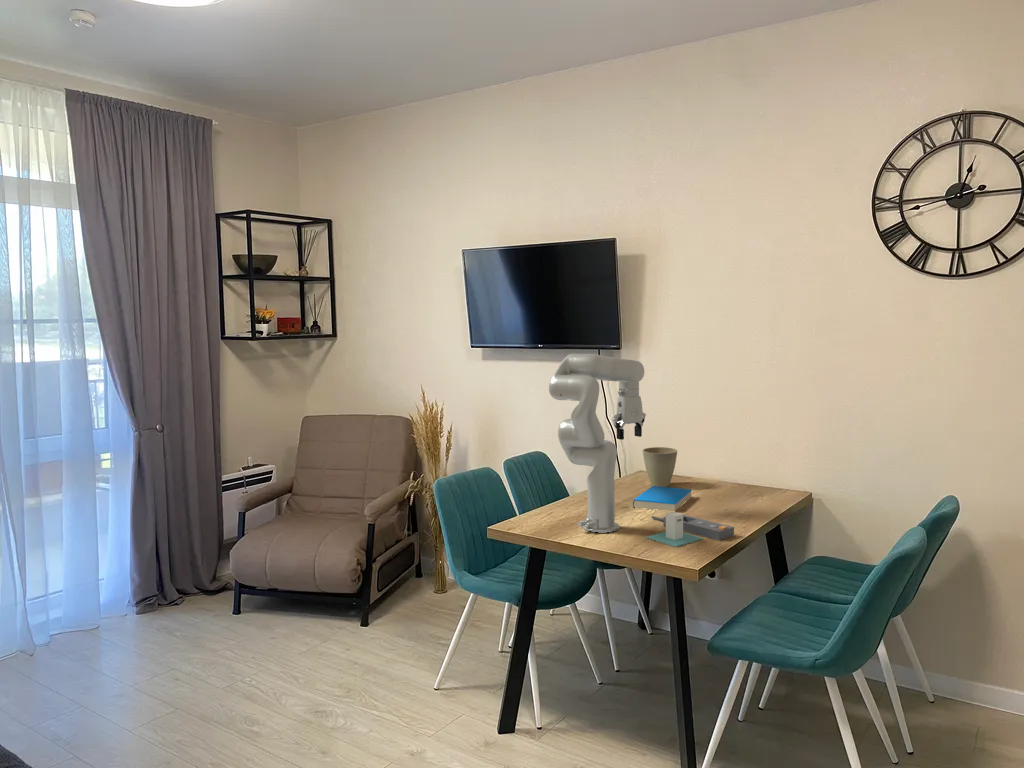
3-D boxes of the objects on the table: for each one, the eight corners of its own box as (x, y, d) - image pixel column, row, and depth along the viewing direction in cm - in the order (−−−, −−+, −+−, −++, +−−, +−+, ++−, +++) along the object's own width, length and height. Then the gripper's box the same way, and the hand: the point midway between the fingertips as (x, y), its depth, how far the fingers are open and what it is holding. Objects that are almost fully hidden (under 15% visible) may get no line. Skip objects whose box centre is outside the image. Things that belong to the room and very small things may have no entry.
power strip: (734, 535, 253) (734, 525, 253) (719, 540, 249) (719, 529, 248) (659, 516, 280) (659, 507, 279) (644, 520, 275) (644, 510, 274)
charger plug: (675, 540, 249) (675, 516, 248) (665, 537, 252) (665, 513, 251) (683, 537, 251) (683, 514, 250) (673, 534, 254) (673, 511, 254)
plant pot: (640, 482, 336) (639, 447, 335) (673, 482, 336) (673, 446, 335) (645, 490, 321) (645, 453, 320) (680, 489, 321) (680, 452, 320)
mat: (676, 547, 242) (676, 545, 242) (646, 538, 253) (646, 536, 253) (702, 539, 250) (702, 537, 250) (671, 531, 261) (671, 529, 261)
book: (692, 489, 307) (676, 502, 285) (691, 499, 307) (676, 513, 285) (651, 485, 315) (632, 498, 292) (651, 495, 315) (632, 509, 293)
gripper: (620, 395, 276) (620, 441, 278) (652, 391, 287) (652, 436, 288) (605, 394, 282) (606, 439, 284) (637, 390, 293) (637, 434, 294)
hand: (629, 437), depth 286 cm, fingers open, 9 cm apart
